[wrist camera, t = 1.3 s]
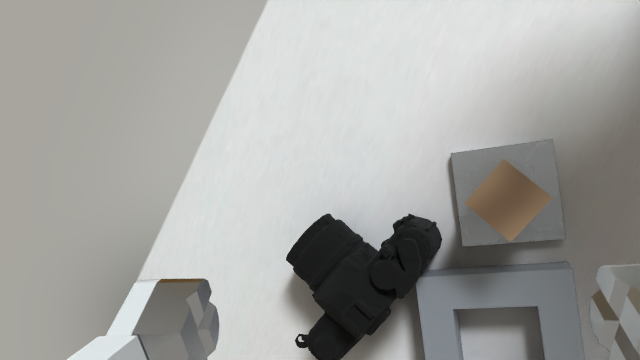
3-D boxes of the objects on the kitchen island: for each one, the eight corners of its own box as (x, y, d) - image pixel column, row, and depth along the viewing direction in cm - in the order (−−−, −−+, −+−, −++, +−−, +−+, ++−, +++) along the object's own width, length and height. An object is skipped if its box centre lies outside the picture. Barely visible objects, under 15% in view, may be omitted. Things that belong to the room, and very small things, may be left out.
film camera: (374, 166, 47) (346, 166, 38) (457, 238, 44) (446, 254, 36) (277, 283, 50) (232, 307, 42) (349, 355, 48) (316, 395, 39)
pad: (551, 140, 41) (552, 139, 40) (564, 237, 41) (566, 238, 40) (451, 153, 44) (450, 153, 43) (463, 244, 44) (462, 246, 43)
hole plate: (567, 261, 41) (573, 269, 38) (587, 409, 41) (594, 428, 38) (420, 270, 45) (414, 278, 42) (437, 405, 45) (432, 422, 42)
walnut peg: (543, 192, 41) (552, 197, 33) (509, 228, 42) (510, 242, 34) (503, 160, 42) (503, 158, 34) (470, 196, 43) (463, 203, 35)
